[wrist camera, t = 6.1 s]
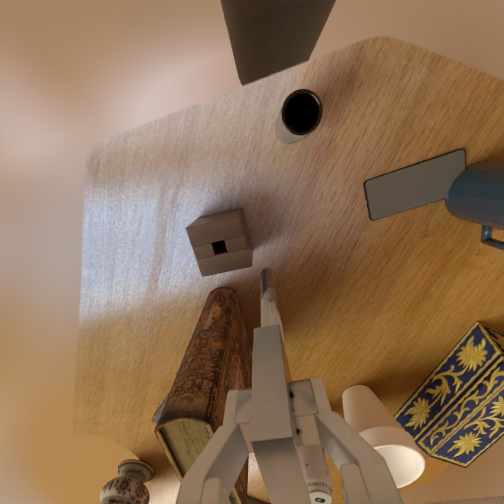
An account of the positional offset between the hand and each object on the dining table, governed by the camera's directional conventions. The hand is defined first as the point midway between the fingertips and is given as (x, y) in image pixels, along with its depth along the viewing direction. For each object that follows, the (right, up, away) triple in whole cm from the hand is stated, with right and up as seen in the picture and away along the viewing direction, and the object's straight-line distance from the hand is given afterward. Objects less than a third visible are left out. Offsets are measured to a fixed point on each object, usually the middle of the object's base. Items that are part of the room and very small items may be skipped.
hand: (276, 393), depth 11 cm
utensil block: (-6, +9, +31) cm, 33 cm away
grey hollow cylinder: (+5, +25, +25) cm, 36 cm away
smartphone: (+25, +17, +28) cm, 41 cm away
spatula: (0, +5, +13) cm, 14 cm away
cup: (+23, -26, +43) cm, 55 cm away
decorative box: (+42, -22, +40) cm, 62 cm away
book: (-5, -8, +37) cm, 38 cm away
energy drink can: (+11, -32, +45) cm, 57 cm away
